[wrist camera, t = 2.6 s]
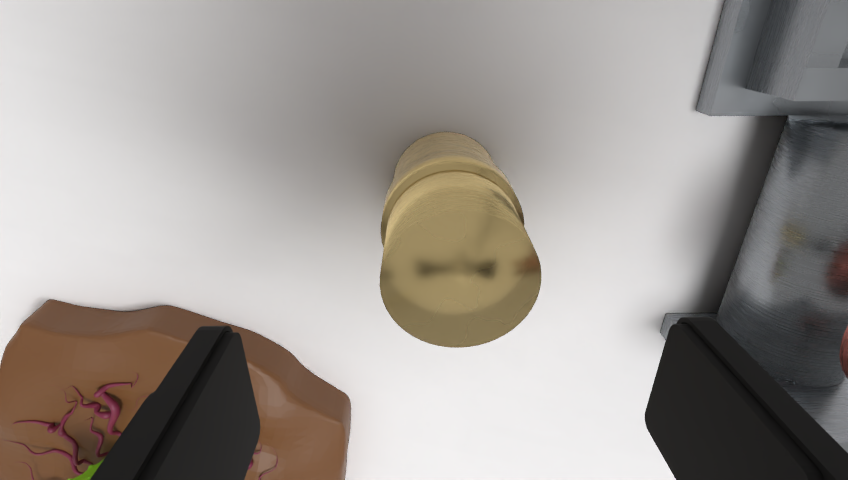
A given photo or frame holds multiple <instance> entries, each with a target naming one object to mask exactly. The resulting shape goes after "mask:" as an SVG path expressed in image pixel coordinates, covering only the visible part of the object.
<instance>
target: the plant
mask: <svg viewBox="0 0 848 480" xmlns="http://www.w3.org/2000/svg"><path fill="white" fill-rule="evenodd" d="M201 326H230V327H231V329H232V331H233V332H238V333H239V334H240V336H241V339H242V343H243V348H244V352H245V357H246V361H247V365H248V370H249V374H250V379H251V383H252V388H253V392H254V397H255V401H256V405H257V410H258V414H259V419H260V436H259V440H258V443H257V446H256V448H255V451H254V454H253V457H252V459H251V462H250V465H249V468H248V471H247V473H246V476H245V479H244V480H345V474H346V462H347V448H348V441H349V434H350V421H351V403H350V399H349V397H348V396H347V395H346V394H345V393H343V392H342V391H340V390H338V389H337V388H335V387H334V386H332V385H330V384H329V383H327V382H325V381H324V380H322V379H321V378H319V377H317V376H316V375H314V374H313V373H312V372H310V371H309V370H308V369H306V368H305V367H304V366H303V365H302V364H301V363H300V362H299V361H298V360H297V359H296V358H295V357H294V356H293V355H292V354H291V353H290V352H289V351H288V350H286V349H285V348H283V347H281V346H280V345H278V344H276V343H274V342H273V341H271V340H269V339H267V338H265V337H263V336H261V335H259V334H257V333H255V332H252V331H250V330H247V329H244V328H240V327H237V326H234V325H230V324H227V323H224V322H220V321H217V320H214V319H211V318H208V317H205V316H202V315H199V314H197V313H194V312H191V311H188V310H184V309H181V308H178V307H173V306H167V305H166V306H157V307H153V308H148V309H143V310H138V311H126V312H123V311H112V310H105V309H97V308H90V307H83V306H77V305H73V304H69V303H65V302H61V301H57V300H52V299H50V300H48V301H47V302H46V303H44V304H43V305H42V306H41V307H40V308H39V309H38V310H36V311H35V312H34V313H33V314H32V315H31V316H30V317H28V318H27V319H26V320H25V321H24V322H23V323H22V324H21V325H20V327H19V329H18V331H17V332H16V334H15V335H14V336H13V337H12V339H11V340H10V341H9V343H8V344H7V346H6V348H5V351H4V353H3V357H2V360H1V365H0V480H90V479H91V477H92V476H93V474H94V473H95V472H96V470H97V469H98V467H99V466H100V464H101V463H102V461H103V460H104V458H105V457H106V456H107V454H108V453H109V451H110V450H111V448H112V447H113V445H114V444H115V443H116V441H117V440H118V438H119V437H120V435H121V434H122V432H123V431H124V430H125V428H126V427H127V425H128V424H129V422H130V421H131V419H132V418H133V417H134V415H135V414H136V412H137V411H138V409H139V408H140V406H141V405H142V404H143V402H144V401H145V399H146V398H147V397H148V396H149V395H150V394H151V393H153V392H154V391H156V389H157V388H158V386H159V385H160V383H161V382H162V380H163V379H164V378H165V376H166V375H167V373H168V372H169V370H170V369H171V367H172V366H173V364H174V363H175V361H176V360H177V358H178V357H179V355H180V354H181V353H182V351H183V350H184V348H185V347H186V345H187V344H188V342H189V341H190V339H191V338H192V336H193V335H194V333H195V332H196V330H197V329H198V328H199V327H201Z"/></svg>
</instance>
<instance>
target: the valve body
mask: <svg viewBox="0 0 848 480" xmlns="http://www.w3.org/2000/svg"><path fill="white" fill-rule="evenodd" d="M696 111H698V112H701V113H704V114H706V115H709V116H788V118H787V121H786V123H785V126H784V129H783V132H782V135H781V137H780V140H779V143H778V146H777V149H776V151H775V154H774V157H773V160H772V163H771V165H770V168H769V171H768V174H767V177H766V179H765V182H764V185H763V188H762V191H761V193H760V196H759V199H758V202H757V205H756V207H755V210H754V213H753V216H752V219H751V221H750V224H749V227H748V230H747V233H746V235H745V238H744V241H743V244H742V247H741V249H740V252H739V255H738V258H737V261H736V263H735V266H734V269H733V272H732V274H731V277H730V280H729V283H728V286H727V288H726V291H725V294H724V297H723V300H722V302H721V305H720V308H719V311H718V313H695V314H666V315H665V319H664V322H663V325H662V329H661V332H660V333H661V334H662V336H663V337H664V338H665V340H666V339H667V335H668V332H669V329H670V327H671V326H672V325H673V324H676V323H677V321H678V320H679V319H680V318H682V317H711V318H713V319H714V320H715V321H716V322H717V323H718V324H719V325H720V326H721V327H722V328H723V329H724V330H725V331H726V332H727V333H728V334H729V335H730V336H731V337H732V338H733V339H734V340H735V341H736V342H737V343H738V344H739V345H740V346H741V347H742V348H743V349H744V350H745V351H746V352H747V353H748V354H749V355H750V356H751V357H752V358H753V359H754V360H755V361H756V362H757V363H758V364H759V365H760V366H761V367H762V368H763V369H764V370H765V371H766V372H767V373H768V374H769V375H770V376H771V377H772V378H773V379H774V380H775V381H776V382H777V383H778V384H779V385H780V386H781V387H782V388H783V389H784V390H785V391H786V392H787V393H788V394H789V395H790V396H791V397H792V398H793V399H794V400H795V401H796V402H797V403H798V404H799V405H800V406H801V407H802V408H803V409H804V410H805V411H806V412H807V413H808V414H809V415H810V416H811V417H812V418H813V419H814V420H815V421H816V422H817V423H818V424H819V425H820V426H821V427H822V428H823V429H824V430H825V431H826V432H827V433H828V434H829V435H830V436H831V437H832V438H833V439H834V440H835V441H836V442H837V443H838V444H839V445H840V446H841V447H842V448H843V449H844V450H845V451H846V452H847V453H848V0H725V3H724V7H723V10H722V14H721V18H720V22H719V25H718V29H717V33H716V37H715V41H714V44H713V48H712V52H711V56H710V59H709V63H708V67H707V71H706V75H705V78H704V82H703V86H702V90H701V93H700V97H699V101H698V105H697V109H696Z"/></svg>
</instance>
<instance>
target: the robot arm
mask: <svg viewBox="0 0 848 480" xmlns="http://www.w3.org/2000/svg"><path fill="white" fill-rule="evenodd" d="M645 422H646V426H647V429H648V431H649V433H650V435H651V436H652V438H653V440H654V442H655V443H656V445H657V447H658V449H659V450H660V452H661V454H662V456H663V457H664V459H665V461H666V463H667V464H668V466H669V468H670V470H671V471H672V473H673V475H674V477H675V478H676V480H848V453H847V452H846V451H845V450H844V449H843V448H842V447H841V446H840V445H839V444H838V443H837V442H836V441H835V440H834V439H833V438H832V437H831V436H830V435H829V434H828V433H827V432H826V431H825V430H824V429H823V428H822V427H821V426H820V425H819V424H818V423H817V422H816V421H815V420H814V419H813V418H812V417H811V416H810V415H809V414H808V413H807V412H806V411H805V410H804V409H803V408H802V407H801V406H800V405H799V404H798V403H797V402H796V401H795V400H794V399H793V398H792V397H791V396H790V395H789V394H788V393H787V392H786V391H785V390H784V389H783V388H782V387H781V386H780V385H779V384H778V383H777V382H776V381H775V380H774V379H773V378H772V377H771V376H770V375H769V374H768V373H767V372H766V371H765V370H764V369H763V368H762V367H761V366H760V365H759V364H758V363H757V362H756V361H755V360H754V359H753V358H752V357H751V356H750V355H749V354H748V353H747V352H746V351H745V350H744V349H743V348H742V347H741V346H740V345H739V344H738V343H737V342H736V341H735V340H734V339H733V338H732V337H731V336H730V335H729V334H728V333H727V332H726V331H725V330H724V329H723V328H722V327H721V326H720V325H719V324H718V323H717V322H716V321H715V320H714V319H713V318H711V317H682V318H680V319H679V320H678V321H677V323H676V324H673V325H672V326H671V327H670V329H669V332H668V335H667V339H666V342H665V346H664V349H663V353H662V356H661V360H660V363H659V367H658V370H657V373H656V377H655V380H654V384H653V387H652V391H651V394H650V398H649V401H648V405H647V408H646V412H645ZM259 436H260V419H259V414H258V410H257V405H256V401H255V397H254V392H253V388H252V383H251V379H250V374H249V370H248V365H247V361H246V357H245V352H244V348H243V343H242V339H241V336H240V334H239V333H238V332H233V331H232V329H231V327H230V326H201V327H199V328H198V329H197V330H196V332H195V333H194V335H193V336H192V338H191V339H190V341H189V342H188V344H187V345H186V347H185V348H184V350H183V351H182V353H181V354H180V355H179V357H178V358H177V360H176V361H175V363H174V364H173V366H172V367H171V369H170V370H169V372H168V373H167V375H166V376H165V378H164V379H163V380H162V382H161V383H160V385H159V386H158V388H157V389H156V391H154V392H153V393H151V394H150V395H149V396H148V397H147V398H146V399H145V401H144V402H143V404H142V405H141V406H140V408H139V409H138V411H137V412H136V414H135V415H134V417H133V418H132V419H131V421H130V422H129V424H128V425H127V427H126V428H125V430H124V431H123V432H122V434H121V435H120V437H119V438H118V440H117V441H116V443H115V444H114V445H113V447H112V448H111V450H110V451H109V453H108V454H107V456H106V457H105V458H104V460H103V461H102V463H101V464H100V466H99V467H98V469H97V470H96V472H95V473H94V474H93V476H92V477H91V479H90V480H244V479H245V476H246V473H247V471H248V468H249V465H250V462H251V459H252V457H253V454H254V451H255V448H256V446H257V443H258V440H259Z"/></svg>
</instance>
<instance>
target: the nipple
mask: <svg viewBox="0 0 848 480" xmlns="http://www.w3.org/2000/svg"><path fill="white" fill-rule="evenodd" d="M381 238H382V243H383V247H384V252H383V259H382V266H381V273H380V290H381V296H382V299H383V302H384V305H385V307H386V309H387V311H388V312H389V314H390V315H391V317H392V318H393V320H394V321H395V322H396V323H397V324H398V325H399V326H400V327H401V328H402V329H404V330H405V331H406V332H408V333H409V334H411V335H412V336H414V337H416V338H418V339H420V340H422V341H425V342H427V343H430V344H434V345H438V346H444V347H470V346H476V345H480V344H484V343H487V342H490V341H493V340H495V339H497V338H499V337H501V336H503V335H505V334H506V333H508V332H509V331H511V330H512V329H514V328H515V327H516V326H517V325H518V324H520V323H521V321H522V320H523V319H524V318H525V317H526V316H527V315H528V313H529V312H530V310H531V309H532V307H533V305H534V303H535V302H536V299H537V296H538V294H539V290H540V285H541V267H540V263H539V259H538V256H537V253H536V251H535V249H534V247H533V245H532V243H531V241H530V238H529V236H528V234H527V232H526V230H525V228H524V218H523V212H522V209H521V206H520V203H519V201H518V199H517V197H516V195H515V193H514V191H513V189H512V187H511V185H510V183H509V181H508V180H507V178H506V177H505V175H504V174H503V173H502V171H501V170H500V169H499V168H498V167H497V166H496V165H495V164H494V163H493V161H492V159H491V157H490V156H489V154H488V152H487V151H486V150H485V149H484V148H483V147H482V146H481V145H480V144H479V143H478V142H476V141H475V140H474V139H472V138H470V137H468V136H465V135H463V134H459V133H454V132H438V133H433V134H430V135H427V136H424V137H422V138H420V139H418V140H417V141H415V142H414V143H413V144H411V145H410V146H409V147H408V148H407V149H406V150H405V152H404V153H403V154H402V156H401V157H400V159H399V161H398V163H397V166H396V169H395V173H394V179H393V181H392V183H391V185H390V187H389V189H388V192H387V195H386V198H385V204H384V210H383V216H382V222H381Z"/></svg>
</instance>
